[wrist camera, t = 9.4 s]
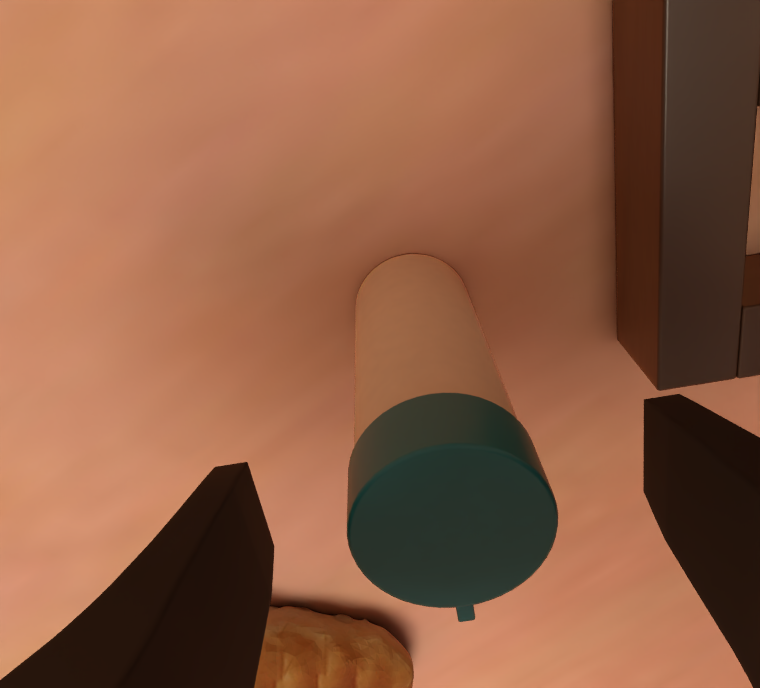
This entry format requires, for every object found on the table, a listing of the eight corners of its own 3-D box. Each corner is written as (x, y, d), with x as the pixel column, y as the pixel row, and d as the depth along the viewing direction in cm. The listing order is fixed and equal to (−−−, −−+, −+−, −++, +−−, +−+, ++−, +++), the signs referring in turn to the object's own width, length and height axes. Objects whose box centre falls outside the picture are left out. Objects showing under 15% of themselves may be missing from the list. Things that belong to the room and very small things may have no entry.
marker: (464, 239, 18) (553, 428, 10) (479, 362, 20) (565, 612, 11) (341, 260, 18) (326, 464, 10) (366, 381, 20) (372, 640, 12)
